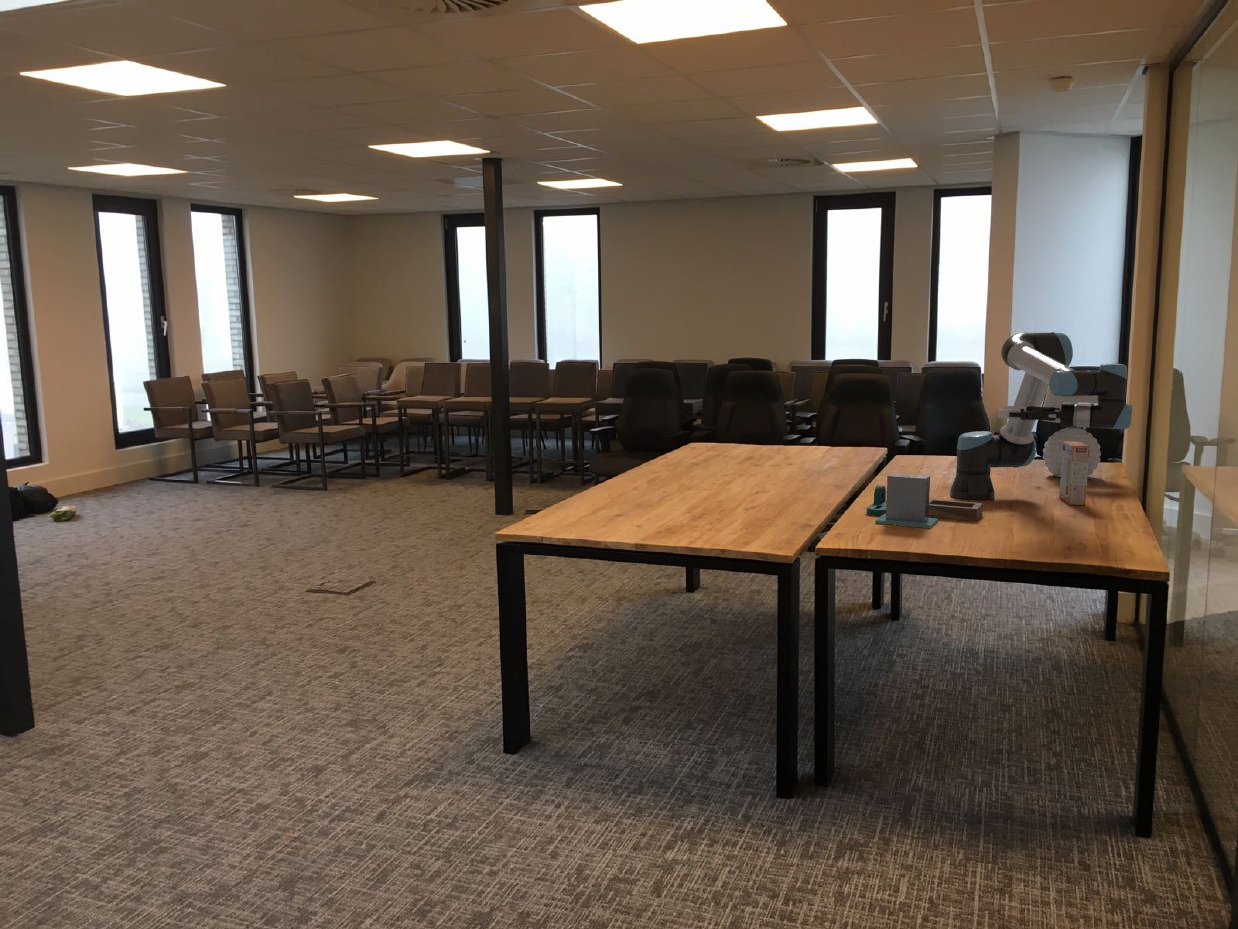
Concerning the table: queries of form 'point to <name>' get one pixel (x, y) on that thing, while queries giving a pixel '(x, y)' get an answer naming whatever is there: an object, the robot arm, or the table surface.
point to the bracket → (878, 502)
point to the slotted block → (955, 509)
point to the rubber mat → (927, 524)
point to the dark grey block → (907, 497)
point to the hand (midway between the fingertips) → (1001, 411)
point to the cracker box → (1074, 472)
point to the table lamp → (1068, 436)
